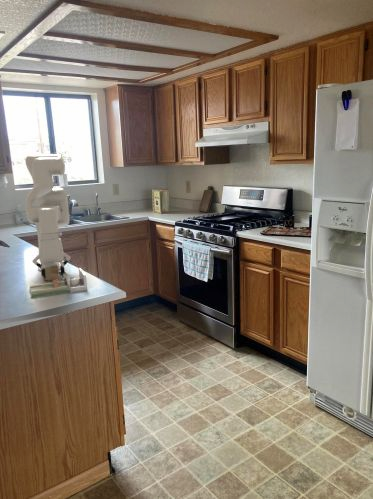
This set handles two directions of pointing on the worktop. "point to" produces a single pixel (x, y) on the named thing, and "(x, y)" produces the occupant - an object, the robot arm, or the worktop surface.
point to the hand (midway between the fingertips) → (53, 275)
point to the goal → (82, 279)
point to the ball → (75, 282)
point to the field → (48, 289)
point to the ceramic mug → (47, 271)
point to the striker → (54, 275)
